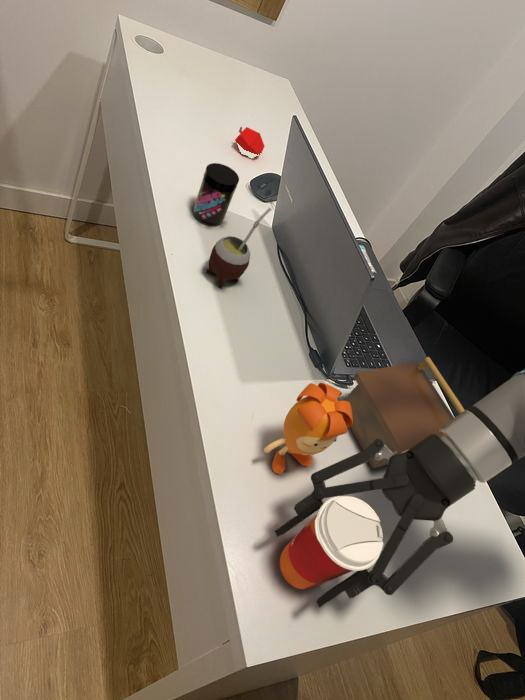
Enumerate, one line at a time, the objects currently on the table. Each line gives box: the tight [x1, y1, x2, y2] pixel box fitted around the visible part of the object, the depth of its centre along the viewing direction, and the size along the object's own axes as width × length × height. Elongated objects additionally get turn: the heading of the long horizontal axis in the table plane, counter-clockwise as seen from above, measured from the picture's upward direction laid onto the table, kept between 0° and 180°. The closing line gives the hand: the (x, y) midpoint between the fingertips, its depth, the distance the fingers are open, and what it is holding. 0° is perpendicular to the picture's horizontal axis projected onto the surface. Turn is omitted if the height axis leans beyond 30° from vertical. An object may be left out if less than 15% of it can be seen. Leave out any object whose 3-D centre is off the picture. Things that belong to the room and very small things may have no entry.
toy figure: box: [263, 382, 353, 475], centre depth 70 cm, size 12×8×15 cm, turn 112°
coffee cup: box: [279, 495, 384, 590], centre depth 60 cm, size 8×8×15 cm
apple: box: [234, 126, 266, 155], centre depth 123 cm, size 7×7×8 cm
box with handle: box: [342, 356, 466, 470], centre depth 81 cm, size 14×14×12 cm
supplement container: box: [192, 162, 240, 226], centre depth 100 cm, size 7×7×10 cm
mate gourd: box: [205, 207, 272, 289], centre depth 89 cm, size 8×8×15 cm
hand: (298, 566), depth 59 cm, fingers closed on coffee cup, 8 cm apart
